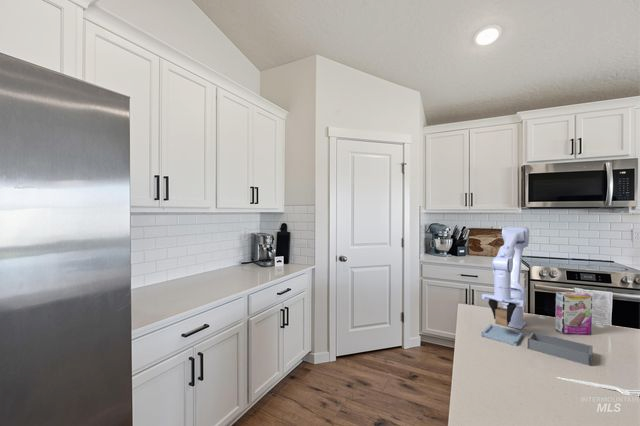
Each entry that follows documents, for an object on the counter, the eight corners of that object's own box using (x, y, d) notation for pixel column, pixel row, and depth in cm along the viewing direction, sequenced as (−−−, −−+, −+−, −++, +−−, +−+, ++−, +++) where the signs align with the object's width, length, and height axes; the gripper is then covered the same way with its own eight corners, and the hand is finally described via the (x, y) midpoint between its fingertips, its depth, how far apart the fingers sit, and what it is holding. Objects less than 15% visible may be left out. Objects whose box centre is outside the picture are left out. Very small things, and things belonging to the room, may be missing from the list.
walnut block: (498, 321, 121) (498, 306, 121) (509, 324, 118) (509, 309, 118) (495, 324, 118) (495, 309, 118) (506, 326, 115) (506, 311, 115)
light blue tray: (490, 327, 127) (490, 324, 127) (523, 336, 118) (523, 332, 118) (481, 336, 118) (481, 332, 118) (516, 345, 110) (516, 341, 110)
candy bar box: (563, 334, 120) (563, 294, 120) (554, 329, 125) (554, 291, 125) (592, 335, 119) (592, 295, 118) (583, 330, 123) (583, 292, 123)
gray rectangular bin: (532, 340, 114) (532, 331, 114) (592, 356, 102) (592, 346, 102) (527, 348, 107) (527, 339, 107) (591, 365, 95) (591, 355, 95)
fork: (555, 377, 90) (555, 371, 90) (646, 394, 81) (646, 388, 81) (558, 382, 87) (557, 376, 87) (652, 401, 78) (652, 394, 78)
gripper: (479, 285, 120) (479, 318, 120) (521, 292, 110) (521, 327, 110) (484, 282, 125) (484, 313, 125) (525, 288, 115) (525, 322, 115)
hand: (502, 320), depth 118 cm, fingers closed on walnut block, 4 cm apart
